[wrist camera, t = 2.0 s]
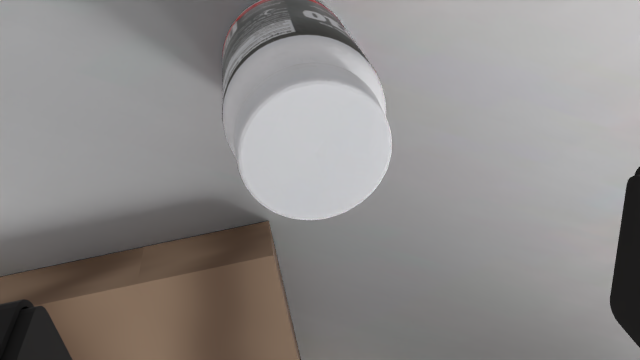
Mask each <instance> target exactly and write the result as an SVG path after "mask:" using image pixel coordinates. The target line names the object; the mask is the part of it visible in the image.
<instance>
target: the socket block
mask: <svg viewBox="0 0 640 360" xmlns="http://www.w3.org/2000/svg"><path fill="white" fill-rule="evenodd" d="M22 299H26V300H29V301H30V302H31V303H32V304H33V305H34V307H35V306H43V307H44V308H45V309H46V310H47V312H48V313H49V315H50V317H51V319H52V321H53V323H54V325H55V327H56V329H57V331H58V333H59V335H60V336H61V338H62V340H63V342H64V344H65V346H66V348H67V350H68V352H69V354H70V356H71V358H72V360H301V359H300V354H299V350H298V346H297V341H296V337H295V333H294V328H293V324H292V320H291V315H290V311H289V307H288V302H287V298H286V294H285V289H284V285H283V281H282V276H281V272H280V268H279V263H278V259H277V255H276V250H275V246H274V242H273V237H272V233H271V229H270V224H269V221H266V222H261V223H257V224H252V225H247V226H242V227H237V228H233V229H228V230H223V231H218V232H213V233H209V234H204V235H199V236H194V237H189V238H185V239H180V240H175V241H170V242H165V243H161V244H156V245H151V246H146V247H141V248H137V249H132V250H127V251H122V252H117V253H113V254H108V255H103V256H98V257H93V258H88V259H84V260H79V261H74V262H69V263H64V264H60V265H55V266H50V267H45V268H40V269H36V270H31V271H26V272H21V273H16V274H12V275H7V276H2V277H0V304H4V303H8V302H13V301H18V300H22Z"/></svg>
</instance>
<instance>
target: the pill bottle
mask: <svg viewBox="0 0 640 360" xmlns="http://www.w3.org/2000/svg"><path fill="white" fill-rule="evenodd" d="M222 73H223V88H222V92H223V93H222V99H223V104H222V105H223V107H222V119H223V126H224V132H225V136H226V139H227V142H228V145H229V147H230V148H231V150H232V152H233V154H234V156H235V157H236V159H237V165H238V170H239V173H240V176H241V178H242V181H243V183H244V185H245V186H246V188H247V189H248V191H249V192H250V193H251V195H252V196H253V197H254V198H255V199H256V200H257V201H258V202H259V203H260V204H262V205H263V206H264V207H266V208H267V209H269V210H271V211H272V212H274V213H277V214H279V215H282V216H285V217H288V218H292V219H298V220H319V219H326V218H330V217H334V216H337V215H339V214H342V213H344V212H347V211H348V210H350V209H352V208H354V207H355V206H357V205H358V204H360V203H361V202H362V201H364V200H365V199H366V198H367V197H368V196H369V195H370V194H371V193H372V192H373V191H374V190H375V189H376V188H377V186H378V185H379V183H380V182H381V180H382V179H383V177H384V175H385V173H386V171H387V169H388V166H389V162H390V158H391V152H392V135H391V130H390V126H389V123H388V120H387V118H386V102H385V96H384V92H383V88H382V85H381V83H380V80H379V77H378V75H377V73H376V71H375V70H374V68H373V67H372V65H371V64H370V63H369V61H368V60H367V59H366V57H365V56H364V54H363V53H362V51H361V50H360V49H359V48H358V46H357V45H356V43H355V42H354V40H353V39H352V37H351V36H350V35H349V34H348V32H347V31H346V29H345V28H344V26H343V25H342V24H341V22H340V21H339V19H338V18H337V17H336V16H335V15H334V14H333V13H332V12H331V11H330V10H329V9H328V8H326V7H325V6H324V5H322V4H321V3H319V2H317V1H315V0H260V1H258V2H256V3H254V4H252V5H251V6H249V7H248V8H247V9H245V10H244V11H243V12H242V13H241V14H240V15H239V16H238V17H237V18H236V20H235V21H234V23H233V24H232V26H231V27H230V29H229V31H228V34H227V36H226V39H225V43H224V47H223V54H222Z"/></svg>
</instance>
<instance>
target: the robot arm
mask: <svg viewBox="0 0 640 360" xmlns="http://www.w3.org/2000/svg"><path fill="white" fill-rule="evenodd" d="M610 306H611V310H612V313H613V315H614V317H615V319H616V320H617V321H618V323H619V324H620V325H621V326H622V327H623V329H624V330H625V331H626V332H627V333H628V335H629V336H630V337H631V338H632V339H633V340H634V342H635V343H636V344H637V345H638V346H639V347H640V167H639V168H638V169H637V170H636V173H635V176H633V177H630V179H629V180H628V183H627V187H626V194H625V201H624V207H623V214H622V221H621V228H620V234H619V241H618V248H617V255H616V262H615V268H614V275H613V282H612V289H611V295H610ZM0 360H72V358H71V356H70V354H69V352H68V350H67V348H66V346H65V344H64V342H63V340H62V338H61V336H60V335H59V333H58V331H57V329H56V327H55V325H54V323H53V321H52V319H51V317H50V315H49V313H48V312H47V310H46V309H45V308H44V307H43V306H35V307H34V305H33V304H32V303H31V302H30V301H29V300H26V299H22V300H18V301H13V302H8V303H4V304H0Z"/></svg>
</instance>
